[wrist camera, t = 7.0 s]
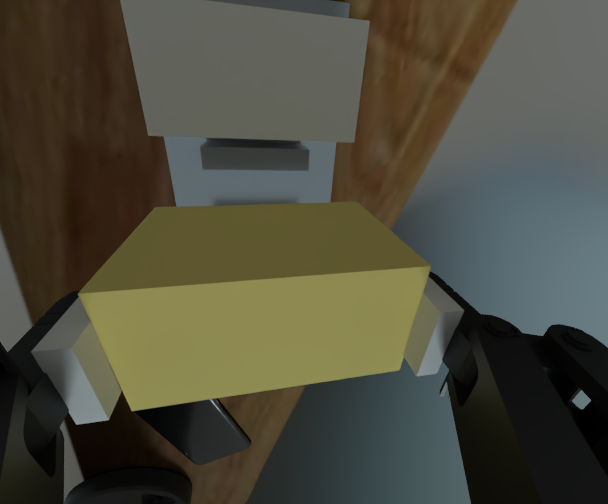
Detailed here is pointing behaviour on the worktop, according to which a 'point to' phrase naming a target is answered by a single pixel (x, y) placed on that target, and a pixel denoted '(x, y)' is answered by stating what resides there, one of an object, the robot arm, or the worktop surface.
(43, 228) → the worktop surface
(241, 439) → the smartphone
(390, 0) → the worktop surface
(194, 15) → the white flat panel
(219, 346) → the butter stick brick
